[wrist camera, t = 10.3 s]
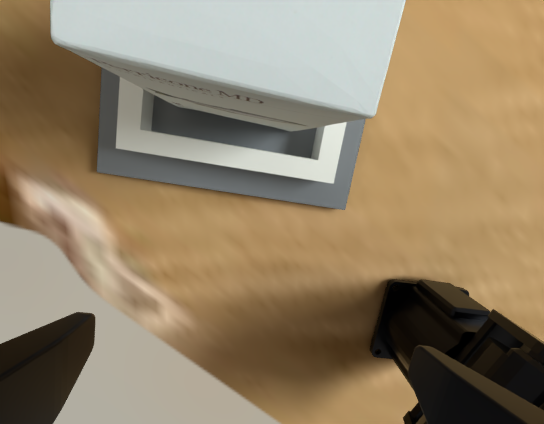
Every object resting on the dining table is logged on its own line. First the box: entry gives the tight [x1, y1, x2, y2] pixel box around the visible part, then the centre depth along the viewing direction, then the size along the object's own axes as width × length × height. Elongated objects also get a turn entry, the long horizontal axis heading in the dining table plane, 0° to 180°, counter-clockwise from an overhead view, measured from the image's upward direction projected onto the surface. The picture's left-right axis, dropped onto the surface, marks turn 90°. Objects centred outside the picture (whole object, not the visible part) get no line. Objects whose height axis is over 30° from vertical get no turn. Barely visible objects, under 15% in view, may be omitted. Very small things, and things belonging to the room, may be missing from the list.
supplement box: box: [50, 0, 406, 132], centre depth 12 cm, size 7×7×13 cm
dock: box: [97, 68, 365, 210], centre depth 17 cm, size 16×16×3 cm
